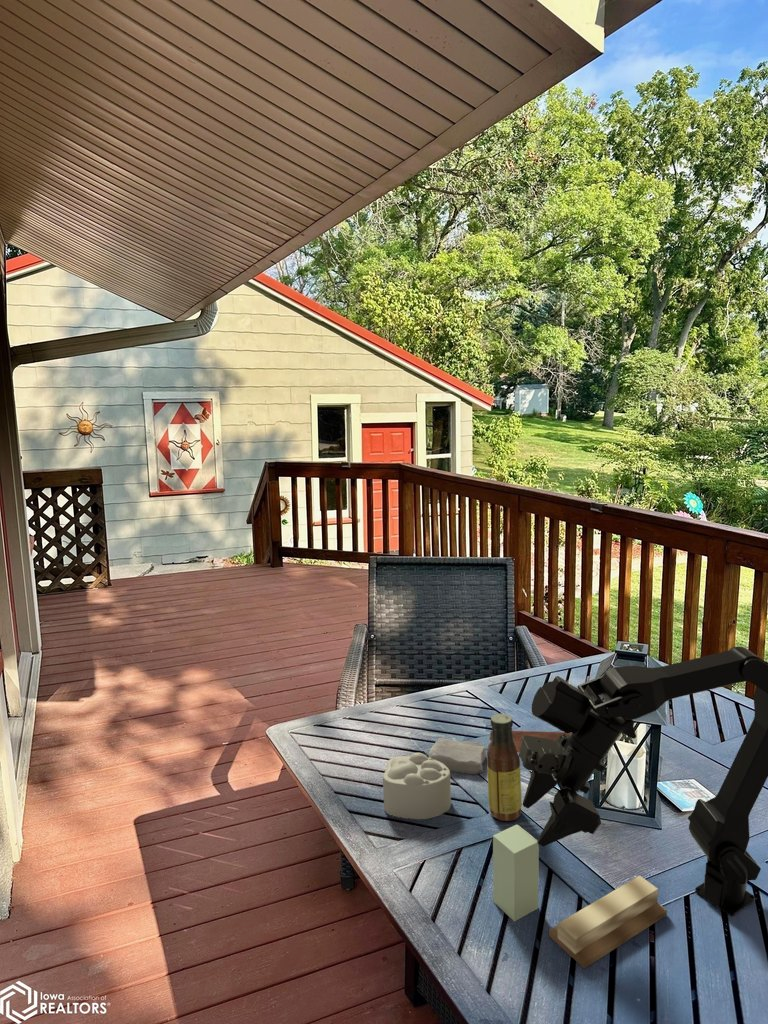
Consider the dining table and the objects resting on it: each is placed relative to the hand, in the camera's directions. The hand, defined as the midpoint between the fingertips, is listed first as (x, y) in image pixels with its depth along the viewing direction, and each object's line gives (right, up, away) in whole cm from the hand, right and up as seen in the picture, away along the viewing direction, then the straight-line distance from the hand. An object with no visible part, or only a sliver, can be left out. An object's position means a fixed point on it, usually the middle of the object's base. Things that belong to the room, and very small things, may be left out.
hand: (532, 824), depth 107 cm
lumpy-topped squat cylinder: (-16, -10, +31) cm, 36 cm away
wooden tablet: (+15, -5, +51) cm, 54 cm away
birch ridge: (+12, -15, -1) cm, 19 cm away
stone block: (-6, -7, +46) cm, 47 cm away
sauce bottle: (0, -10, +27) cm, 29 cm away
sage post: (-2, -15, +4) cm, 15 cm away
